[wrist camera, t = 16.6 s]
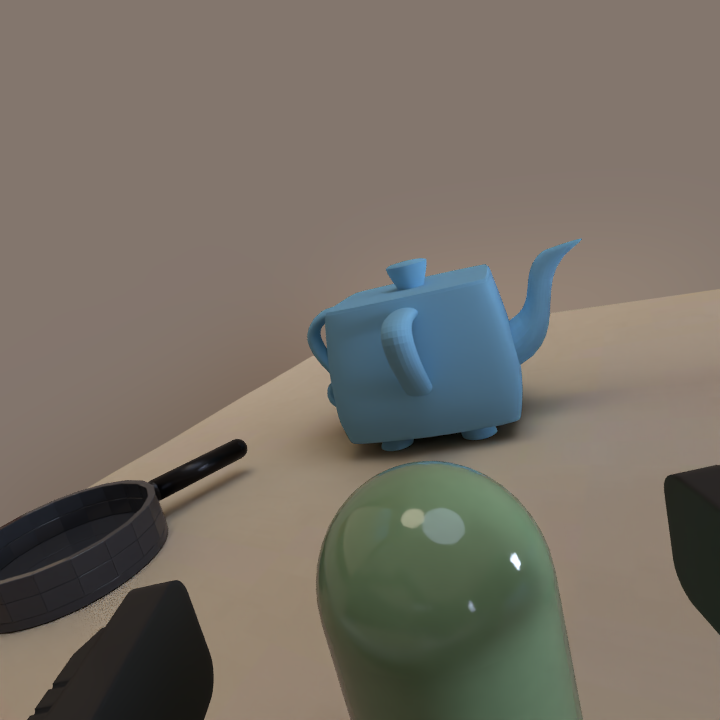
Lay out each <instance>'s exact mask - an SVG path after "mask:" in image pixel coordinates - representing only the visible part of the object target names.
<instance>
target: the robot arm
mask: <svg viewBox="0 0 720 720" xmlns="http://www.w3.org/2000/svg"><path fill="white" fill-rule="evenodd" d="M664 493H665V501H666V509H667V516H668V524H669V531H670V539H671V546H672V554H673V561H674V566H675V570H676V573H677V576H678V578H679V581H680V583H681V585H682V587H683V589H684V591H685V593H686V595H687V596H688V598H689V600H690V601H691V602H692V604H693V605H694V606H695V607H696V609H697V610H698V611H699V612H700V613H701V614H702V615H703V616H704V618H705V619H706V620H707V621H708V622H709V623H710V624H711V625H712V627H713V628H714V629H715V630H716V631H717V632H718V633H719V635H720V465H714V466H710V467H705V468H700V469H696V470H691V471H687V472H682V473H677V474H673V475H669V476H667V477H666V479H665V483H664ZM213 681H214V674H213V664H212V659H211V655H210V652H209V649H208V647H207V644H206V641H205V638H204V636H203V633H202V630H201V627H200V625H199V622H198V619H197V616H196V614H195V611H194V608H193V605H192V603H191V600H190V597H189V594H188V592H187V589H186V588H185V586H184V585H183V583H182V582H180V581H178V580H174V581H169V582H165V583H160V584H155V585H151V586H146V587H141V588H137V589H133V590H131V591H130V592H129V593H128V594H127V596H126V597H125V599H124V600H123V601H122V603H121V604H120V606H119V607H118V609H117V610H116V612H115V613H114V615H113V616H112V618H111V619H110V621H109V622H108V624H107V625H106V627H104V628H102V629H100V630H99V631H98V632H97V633H96V634H95V635H94V636H93V637H92V638H91V639H90V640H89V641H87V642H86V643H85V644H84V645H83V646H82V647H81V648H80V649H79V650H78V651H77V652H75V653H74V654H73V656H72V657H71V658H70V660H69V661H68V663H67V664H66V666H65V667H64V668H63V670H62V671H61V673H60V674H59V675H58V677H57V678H56V680H55V681H54V683H53V688H52V689H50V690H48V691H47V692H46V694H45V695H44V697H43V698H42V700H41V701H40V702H39V704H38V705H37V707H36V708H35V714H34V715H32V716H30V717H29V718H28V719H27V720H204V718H205V715H206V712H207V709H208V706H209V703H210V700H211V697H212V692H213Z"/></svg>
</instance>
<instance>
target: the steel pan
mask: <svg viewBox="0 0 720 720" xmlns="http://www.w3.org/2000/svg"><path fill="white" fill-rule="evenodd" d="M167 535H168V526H167V523H166V520H165V517H164V513H163V510H162V508H161V505H160V502H159V499H158V497H157V494H156V491H155V488H154V486H153V485H152V484H150V483H147V482H145V481H136V480H125V481H119V482H113V483H107V484H102V485H99V486H95V487H92V488H88V489H85V490H81V491H78V492H75V493H73V494H70V495H67V496H65V497H62V498H59V499H57V500H54V501H51V502H49V503H47V504H45V505H43V506H40V507H38V508H36V509H34V510H32V511H30V512H28V513H25V514H23V515H22V516H20V517H18V518H16V519H14V520H13V521H11V522H9V523H7V524H6V525H4V526H2V527H0V633H8V632H14V631H20V630H24V629H28V628H32V627H35V626H38V625H41V624H44V623H47V622H50V621H52V620H55V619H58V618H60V617H63V616H65V615H67V614H69V613H72V612H74V611H76V610H78V609H80V608H82V607H84V606H86V605H88V604H90V603H92V602H94V601H95V600H97V599H99V598H101V597H103V596H104V595H106V594H108V593H109V592H111V591H112V590H114V589H115V588H117V587H119V586H120V585H121V584H123V583H124V582H126V581H127V580H128V579H130V578H131V577H132V576H134V575H135V574H136V573H137V572H139V571H140V570H141V569H142V568H143V567H144V566H145V565H146V564H148V563H149V562H150V561H151V560H152V558H153V557H154V556H155V555H156V554H157V553H158V551H159V550H160V549H161V548H162V546H163V544H164V542H165V541H166V538H167Z"/></svg>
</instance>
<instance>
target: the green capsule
mask: <svg viewBox="0 0 720 720" xmlns="http://www.w3.org/2000/svg"><path fill="white" fill-rule="evenodd" d="M316 594H317V605H318V609H319V614H320V618H321V623H322V627H323V630H324V634H325V637H326V640H327V644H328V647H329V650H330V654H331V657H332V660H333V663H334V667H335V670H336V673H337V677H338V680H339V683H340V687H341V690H342V693H343V696H344V700H345V703H346V706H347V710H348V713H349V716H350V720H583V717H582V711H581V706H580V700H579V695H578V690H577V684H576V679H575V673H574V668H573V663H572V657H571V652H570V647H569V641H568V636H567V630H566V625H565V620H564V614H563V609H562V603H561V598H560V593H559V587H558V582H557V577H556V572H555V568H554V564H553V560H552V557H551V553H550V550H549V547H548V545H547V543H546V540H545V538H544V536H543V534H542V532H541V530H540V528H539V527H538V525H537V523H536V522H535V520H534V519H533V517H532V515H531V514H530V513H529V512H528V511H527V509H526V508H525V507H524V506H523V505H522V503H521V502H520V501H519V500H518V499H517V498H516V497H515V496H514V495H513V494H512V493H510V492H509V491H508V490H507V489H506V488H505V487H503V486H502V485H501V484H499V483H498V482H496V481H495V480H493V479H491V478H490V477H488V476H486V475H485V474H482V473H480V472H478V471H475V470H473V469H471V468H468V467H465V466H462V465H458V464H453V463H448V462H441V461H422V462H413V463H407V464H403V465H399V466H396V467H393V468H391V469H388V470H386V471H384V472H382V473H380V474H378V475H376V476H374V477H372V478H371V479H369V480H368V481H366V482H365V483H364V484H363V485H361V486H360V487H359V488H358V489H357V490H355V491H354V492H353V493H352V494H351V495H350V496H349V498H348V499H347V500H346V501H345V502H344V503H343V505H342V506H341V507H340V508H339V510H338V512H337V513H336V515H335V517H334V518H333V520H332V522H331V523H330V525H329V527H328V530H327V532H326V535H325V537H324V540H323V542H322V545H321V550H320V554H319V559H318V564H317V573H316Z"/></svg>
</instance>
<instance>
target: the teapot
mask: <svg viewBox="0 0 720 720" xmlns="http://www.w3.org/2000/svg"><path fill="white" fill-rule="evenodd" d="M581 240H582V239H577V240H573V241H570V242H567V243H564V244H561V245H558V246H555V247H552V248H549V249H547V250H544V251H543V252H541V253H540V254H539V255H538V256H537V257H536V259H535V260H534V262H533V263H532V266H531V269H530V273H529V279H528V289H527V298H526V301H525V304H524V306H523V308H522V310H521V311H520V312H519V313H518V314H517V315H516V316H515V317H514V318H512V319H511V320H510V321H509V319H508V316H507V313H506V310H505V308H504V305H503V302H502V299H501V297H500V294H499V291H498V289H497V286H496V284H495V281H494V279H493V276H492V273H491V271H490V268H489V267H488V266H487V265H486V264H484V265H479V266H473V267H469V268H464V269H459V270H455V271H450V272H445V273H441V274H437V275H432V276H427V277H425V271H426V259H423V258H419V259H412V260H407V261H403V262H400V263H397V264H394V265H391V266H389V267H388V268H387V269H386V271H387V273H388V275H389V277H390V278H391V280H392V281H393V283H394V284H391V285H387V286H383V287H379V288H374V289H370V290H366V291H362V292H358V293H355V294H353V295H351V296H350V297H348V298H346V299H345V300H343V301H342V302H340V303H339V304H337V305H336V306H334V307H331V308H328V309H326V310H324V311H322V312H321V313H320V314H318V315H317V316H316V317H315V319H314V320H313V322H312V323H311V325H310V327H309V330H308V336H307V338H308V344H309V346H310V349H311V351H312V353H313V354H314V356H315V357H316V358H317V360H318V361H319V362H320V363H321V364H322V366H323V367H324V368H325V369H326V370H327V371H328V372H329V373H330V377H331V384H330V385H329V387H328V393H327V394H328V398H329V400H330V402H331V403H332V404H333V405H334V406H335V407H336V408H337V412H338V416H339V419H340V422H341V425H342V427H343V428H344V430H345V432H346V434H347V436H348V438H349V439H350V441H351V442H352V443H354V444H367V443H380V442H383V443H382V446H381V448H382V449H383V450H386V451H396V450H401V449H404V448H406V447H408V446H410V445H411V444H412V443H413V442H414V439H418V438H426V437H433V436H440V435H447V434H453V433H459V432H461V434H462V436H463V437H464V438H465V439H469V440H480V439H485V438H488V437H490V436H493V435H494V434H495V433H496V432H497V428H496V427H495V426H499V425H503V424H508V423H512V422H515V421H517V420H519V419H520V417H521V411H522V388H523V387H522V373H521V366H520V365H521V364H522V363H523V362H525V361H526V360H528V359H529V358H530V357H532V356H533V355H534V354H535V352H536V351H537V350H538V349H539V347H540V346H541V345H542V342H543V340H544V338H545V336H546V333H547V329H548V325H549V316H550V299H551V286H552V280H553V276H554V273H555V270H556V267H557V266H558V264H559V262H560V261H561V259H562V258H563V256H564V255H565V254H566V253H567V252H568V251H570V250H571V249H572V248H573V247H574V246H575V245H576V244H577V243H579V242H580V241H581ZM324 324H325V328H326V341H327V348H326V347H325V345H324V343H323V341H322V339H321V335H320V331H321V328H322V326H323V325H324Z"/></svg>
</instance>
